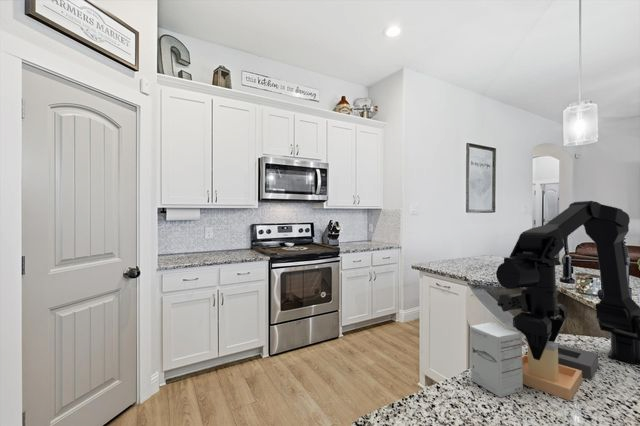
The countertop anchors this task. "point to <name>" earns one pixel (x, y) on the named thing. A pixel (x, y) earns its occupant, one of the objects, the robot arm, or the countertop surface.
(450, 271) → the countertop surface
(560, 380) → the parts tray
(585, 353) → the gray rectangular frame
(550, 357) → the block
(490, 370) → the supplement box
